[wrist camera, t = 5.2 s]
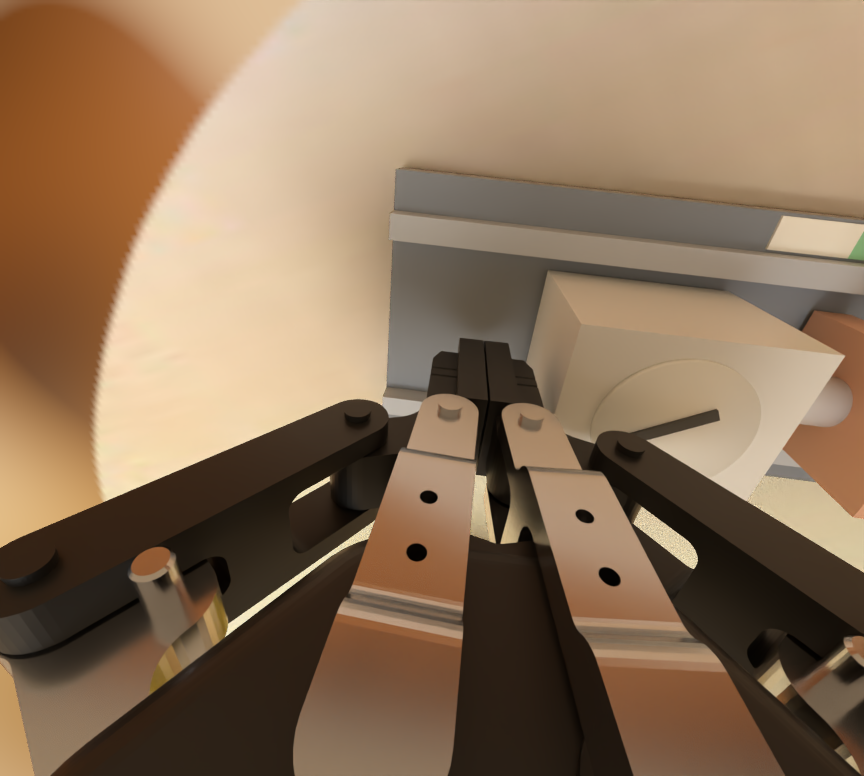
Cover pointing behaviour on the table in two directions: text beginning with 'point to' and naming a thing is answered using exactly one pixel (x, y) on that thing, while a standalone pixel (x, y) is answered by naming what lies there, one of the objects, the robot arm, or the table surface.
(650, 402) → the gauge housing
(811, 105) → the table surface
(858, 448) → the brown slider plate
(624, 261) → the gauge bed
